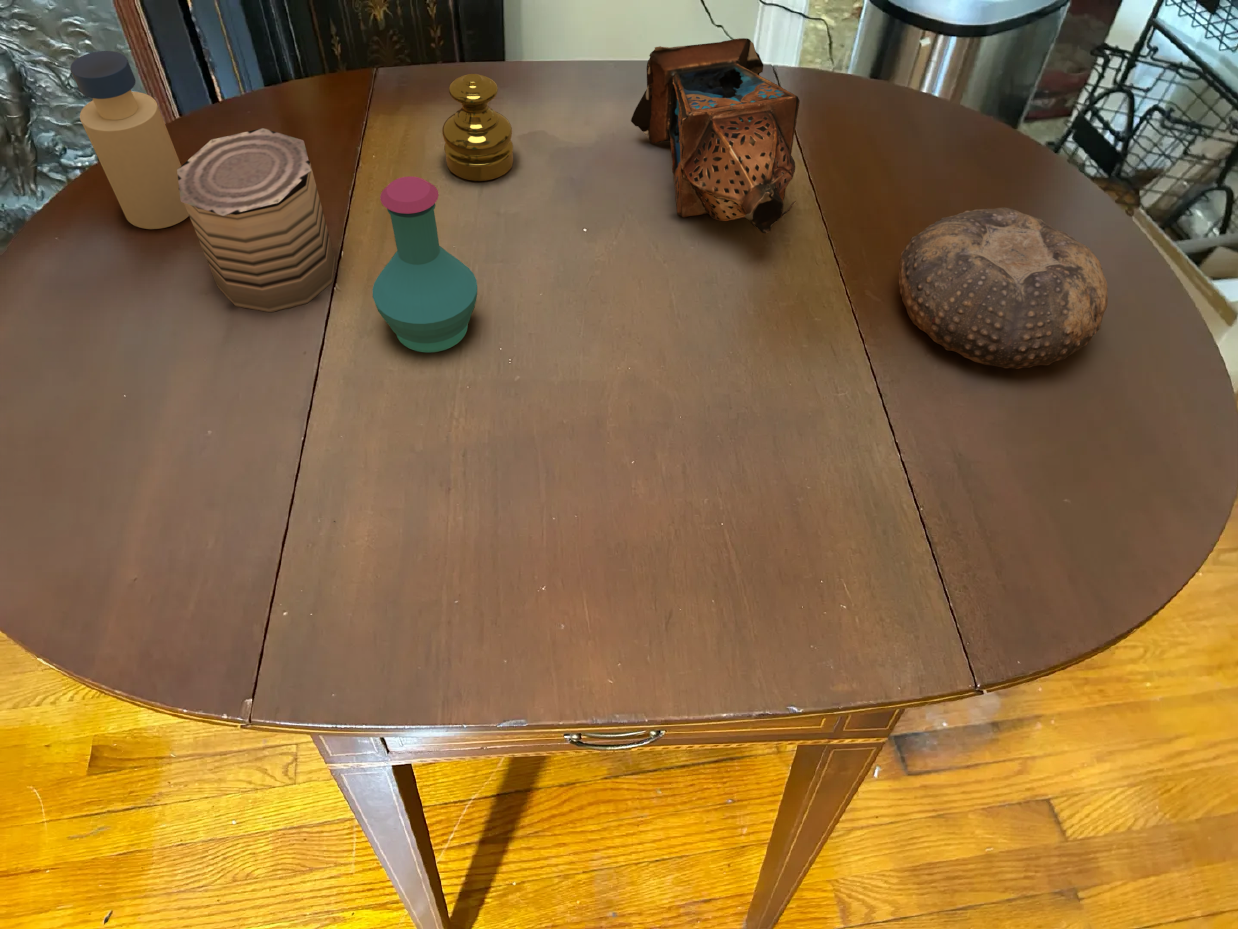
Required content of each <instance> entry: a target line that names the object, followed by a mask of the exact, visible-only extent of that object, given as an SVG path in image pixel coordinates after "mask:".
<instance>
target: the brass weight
mask: <svg viewBox="0 0 1238 929" xmlns="http://www.w3.org/2000/svg"><path fill="white" fill-rule="evenodd" d="M498 91H499V88H498V84H497V82H496V81H494V80H493V79H492V78H491V77H489V76H485V75H483V74H478V73H468V74H465V75H461V76H459V77H457V78H455V79H454V80H452V81H451V83H450V84H449V86H448V93H449V95H450V97H451V98H452V99H453V100H454V101H456V102H457V103H459V104H460V105H461V107H460V108H459V109H458V110H457V111H456V112H455V113H453V114H451V115H450V116H449V117H448V118H446V120H445V121H444V123H443V125H442V129H441V134H442V137H443V142H444V147H443V148H444V149H443V150H444V153H445V160H446V166H447V168H448V170H449V171H450V172H451V173H452V174H453V175H455V176H456V177H458V178H461V179H464V180H467V181H471V182H472V181H473V182H485V181H491V180H496V179H497V178H500V177H502V176H504V175H505V174H507V173H508V172H509V171H510V170H511V168H512V166H513V164H514V154H513V153H514V152H513V149H514V144H513V141H512V137H513V136H512V135H513V127H512V125H511V123H510V120H508V119H507V117H506V116H504V115H503V114H501V113H500V112H498V111H496V110H494V109H493V108H491V107H489V106H488V104H489V103H490V102H491V101H492V100H494V99H495V98H496V97H497V95H498Z"/></svg>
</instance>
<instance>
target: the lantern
mask: <svg viewBox="0 0 1238 929" xmlns="http://www.w3.org/2000/svg"><path fill="white" fill-rule="evenodd" d="M648 56H649V58H648V61H647V62H646V90H645V91H644V93H643V95H642V96H641V98H640V99H639V102H638V104H637V105H636V107H635V109H634V111H633V114H632V116H631V119H630V123H632V124H633V125H634V127H637V128H639V129H640V130H641V132H642V133H643V134H644V135H645V136H646V137H647V138H648V141H649V143H651V144H653V145H654V144H659V143H665V142H670V153H671V161H672V162H671V163H672V167H671V168H672V174H673V182H674V190H675V202H676V212H677V215H679V216H680V217H682V218H687V217H694V216H702V215H707V214H708V215H709V216H710V217H711V218H712V219H713V220H717V221H720V222H729V221H735V220H739V219H746V220H748V221H749V222H750V224H751V225H753V226H754V227H755V228H756V229H757V230H759V231H760V232H761V233H762V234H768V233H770V232H771V231H772V230H771V229H772V226H773V225H774V224H775V223H777V222H779V220H780V219H781V218H782V217H784V216H785V215H786V214H787V213H788V212H789V211H790V210H791V209H792V208H793V206H794V204H796V202H797V200H794V201H792V202H791V204H790V206H788V207H787V209H785V210H784V200H785V197H786V192H787V191H786V189H787V187H788V185H789V184H790V182H791V181H792V180H793V178H794V174H795V172H796V162H795V159H794V158H793V155H792V153H793V146H794V138H795V132H796V127H797V120H798V115H799V109H800V108H799V107H800V103H801V102H800V99H799V96H798V95H796V94H794V93H792V92H791V91H789V90H787V89H785V88H784V87H783V86H780V85H778V84H777V83H775V82H773V81H771V80H769V79H767V78H765V77H763V76H761V75H760V74H762V73H763V71H764V63H763V61H762V58H761V57H760V54H759V53H758V52H757V50H756V47H755V44H754V42H753V41H751V39H750V38H745V37H741V38H740V37H738V38H734V39H727V40H723V41H718V42H708V43H707V42H706V43H699V44H698V43H697V44H690V45H677V46H671V47H669V46H661V45H659V46H655V47H654V49H653V50H652V51H651V52H650V53H649V55H648Z"/></svg>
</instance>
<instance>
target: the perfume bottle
mask: <svg viewBox="0 0 1238 929" xmlns="http://www.w3.org/2000/svg"><path fill="white" fill-rule="evenodd" d="M379 198H380V199H379V200H380V202H381V204H382V206H383V207H384V208H386V211H387V212H388V214H389V216H390V221H391V226H392V231H393V237H394V242H395V247H396V252H395V253H394V254H393V255H392V257H391V259H390V260H389V261H388V262H387V263H386V265H385V266H383V269H382V270H381V271H380V273H379V274H378V275H377V277H376V278H375V281H374V283H373V286H372V290H371V291H372V292H371V293H372V299H373V302H374V304H375V307H376V310H377V312H378V313H379V315H380V316H381V317H382V319H383V320H384V322H385V324H387V325H388V326H389V328H390V329H391V330H392V332H393V333H394V334H395V335H396V338H397V339H398V341H399V342H400V343H401V344H402V345H403V346H404V347H406V348H407V349H409V350H412V351H415V352H419V353H439V352H443V351H446V350H448V349H451V348H452V347H454V346H455V345H457V344H459V343H460V342H461V341H462V340H463V339H464V337H465V336H466V334H467V331H468V327H469V325H468V324H469V323H470V321H471V317H472V313H473V311H474V309H475V306H476V303H477V298H478V281H477V277H476V276H475V273H474V272H473V271H472V270H471V268H470V267H468V266H467V265H466V264H465V263H463V262H462V261H461V260H460V259H458V258H457V257H455V256H454V255H453V254H451V253H450V252H448V251H447V250H446V249H444V248H443V247H442V246H441V245H440V241H439V235H438V229H437V222H436V215H435V209H436V203H437V201H438V199H439V190H438V188H437V187H436V185H434V184H433V183H431V182H429V180H428V181H427V180H425V179H424V178H421V177H417V176H412V175H411V176H402V177H397V178H396V179H394V180H392V181H391V182H389V183H388V184H387V185H386V186H385V187H384V188H383V189H382V191H381V193H380V196H379Z"/></svg>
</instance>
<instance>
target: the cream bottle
mask: <svg viewBox="0 0 1238 929" xmlns="http://www.w3.org/2000/svg"><path fill="white" fill-rule="evenodd" d="M69 68H70V69H69V70H70V73H71V74H72V77H73V80H74V81H75V83H76V86H77V88H78V90H79V92H80V94H82V95H83V96H85V97H86V98H90V99H92V100H91V101H89V102H88V103H86V104H85V105H84V106H83V107H82V108H81V110H80V113H79V120H80V122H81V124H82V126H83V128H84V131H85V133H86V136H87V137H88V139H89V142H90V144H91V146H92V149H93V150H94V152H95V155H96V156H97V159H98V161H99V163H100V165H101V167H102V169H103V172H104V174H105V176H106V178H107V180H108V182H109V184H110V187H111V189H112V191H113V193H114V195H115V197H116V200H117V201H118V204H119V206H120V208H121V211H122V212H123V215H124V217H125V219H126V220H127V222H128V223H130V224H131V225H133V226H134V227H136V228H139V229H146V230H160V229H165V228H169V227H172V226H175V225H177V224H179V223H181V222H183V221H185V220H186V219H188V218H189V214H188V212H187V209H186V207H185V204H184V203H183V202H181V199H180V192H179V182H178V174H177V169H178V168H179V167H181V166H182V164H181V162H180V159H179V156H178V154H177V152H176V149H175V147H174V144H173V141H172V138H171V135H170V133H169V131H168V128H167V126H166V123H165V121H164V118H163V115H162V113H161V110H160V108H159V104H158V102H157V101H156V100H155V99H154V98H153V97H152V96H151V95H149V94H147V93H143V92H141V91H132V89H133V88H134V87H135V86H136V81H137V80H136V77H135V75H134V72H133V70H132V68H131V65H130V62H129V60H128V58H127V56H126V55H124V54H123V53H121V52H118V51H113V50H98V51H92V52H89V53H86V54H83V55H81V56H79V57H78V58H75V60H74V61H72V63H71V64H70V67H69Z"/></svg>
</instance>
